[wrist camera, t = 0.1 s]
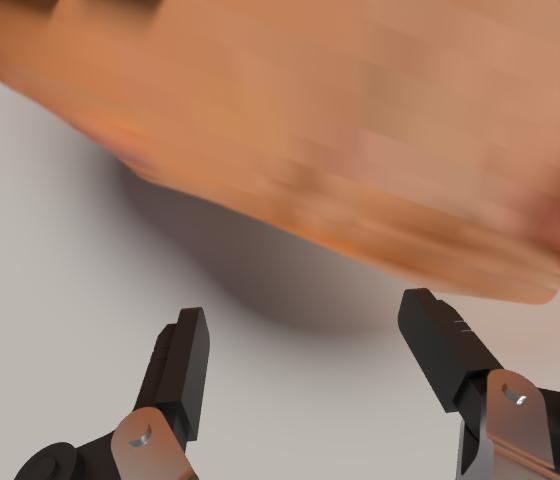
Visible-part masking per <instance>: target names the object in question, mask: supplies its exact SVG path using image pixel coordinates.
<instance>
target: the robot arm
mask: <svg viewBox="0 0 560 480" xmlns="http://www.w3.org/2000/svg"><path fill="white" fill-rule="evenodd" d="M398 326H399V329H400V331H401V333H402V335H403V337H404V339H405V341H406V342H407V344H408V346H409V348H410V349H411V351H412V353H413V355H414V357H415V358H416V360H417V362H418V364H419V366H420V367H421V369H422V371H423V372H424V374H425V376H426V378H427V380H428V382H429V383H430V385H431V387H432V389H433V391H434V392H435V394H436V396H437V398H438V399H439V401H440V403H441V405H442V407H443V408H444V410H445V412H446V413H449V412H457V411H459V413H460V414H461V416H462V418H463V420H462V421H461V427H460V439H459V449H458V460H457V470H456V479H455V480H560V392H557V391H552V390H547V389H541V388H537V387H536V386H535V385H534V384H533V383H532V382H530V381H529V380H528V379H526V378H525V377H523V376H522V375H520V374H518V373H516V372H513V371H509V370H506V369H504V368H503V367H502V365H501V364H500V363H499V362H498V361H497V359H496V358H495V357H494V356H493V355H492V353H491V352H490V351H489V350H488V349H487V348H486V346H485V345H484V344H483V343H482V341H481V340H480V339H479V338H478V337H477V336H476V334H475V333H474V332H472V331H471V328H470V327H469V326H468V325H467V323H466V322H464V320H463V319H462V317H461V316H460V315H459V314H458V312H457V311H456V310H455V309H454V308H453V307H451V306H450V305H448V304H447V303H445V302H444V301H443V300H436V298H435V297H434V296H433V294H432V293H431V292H430V291H429V290H428V289H427V288H417V289H407V290H405V292H404V294H403V298H402V302H401V306H400V310H399V313H398ZM209 339H210V338H209V332H208V328H207V324H206V320H205V315H204V311H203V308H202V307H197V308H185V309H181V311H180V314H179V318H178V322H177V323H175V324H167V325H166V327H165V328H164V329H163V330H162V332H161V333H160V334H159V335H158V338H157V341H156V344H155V347H154V352H153V353H152V356H151V359H150V363H149V365H148V368H147V371H146V374H145V377H144V380H143V383H142V386H141V389H140V392H139V395H138V398H137V401H136V404H135V406H134V409H133V411H132V413H130V414H129V415H128V416H126V417H125V418H124V419H123V420H122V421H121V423H120V424H119V425H118V427H117V428H116V429H115V430H114V431H112V432H111V433H109V434H107V435H105V436H103V437H101V438H98V439H96V440H94V441H91V442H89V443H87V444H85V445H82V446H80V447H78V448H74V447H73V446H72V445H71V444H69V443H66V442H59V443H55V444H52V445H49V446H47V447H45V448H43V449H42V450H40V451H39V452H37V453H36V454H35V455H34V456H32V457H31V458H30V459H29V460H28V461H27V462H26V463H25V464H24V466H23V467H22V468H21V469H20V471H19V472H18V474H17V475H16V477H15V479H14V480H199V478H198V476H197V475H196V474H195V472H194V470H193V469H192V467H191V465H190V463H189V461H188V459H187V458H186V456H185V450H186V444H187V442H188V441H196V440H197V435H198V428H199V421H200V414H201V406H202V399H203V392H204V384H205V378H206V370H207V363H208V356H209V348H210V340H209Z"/></svg>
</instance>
